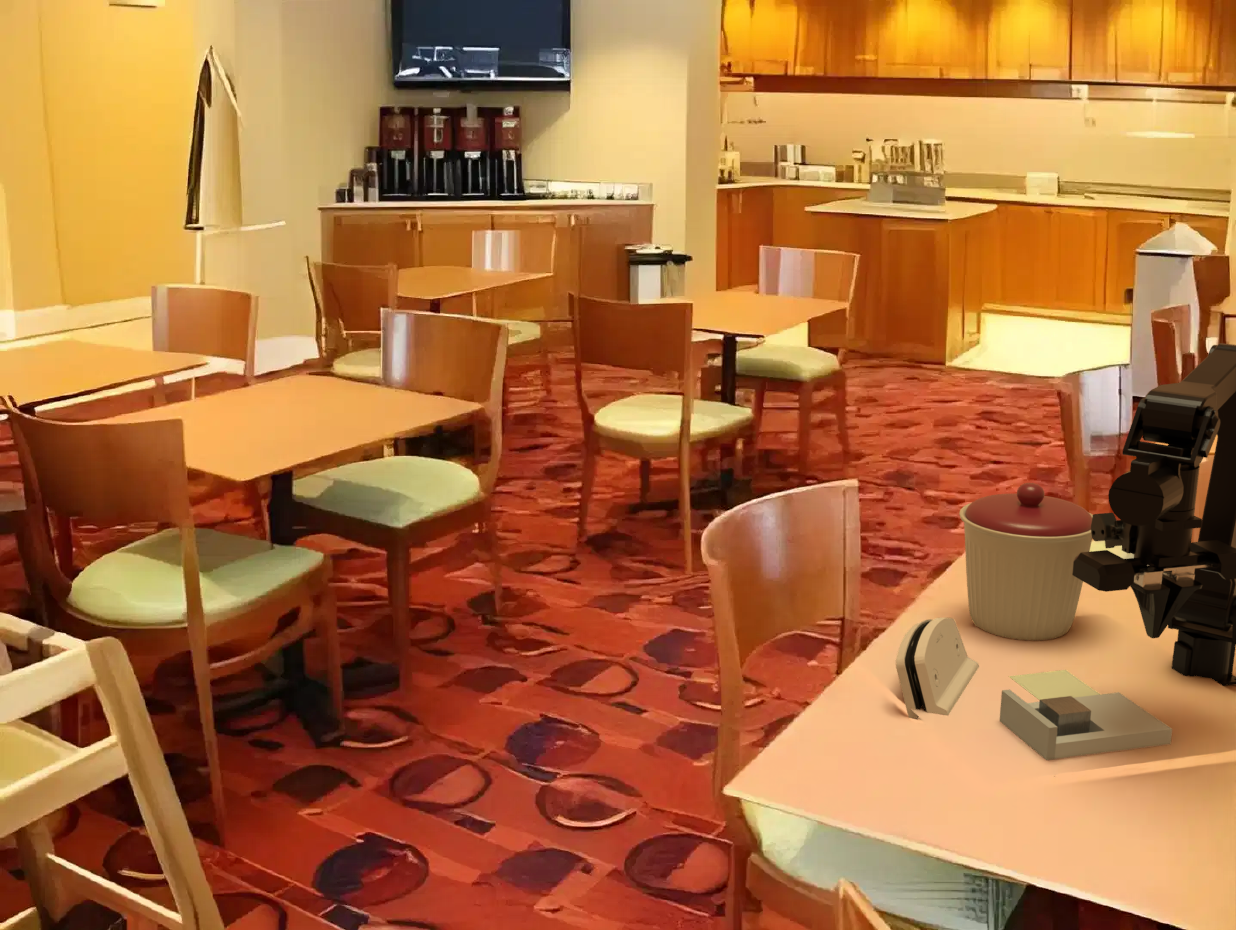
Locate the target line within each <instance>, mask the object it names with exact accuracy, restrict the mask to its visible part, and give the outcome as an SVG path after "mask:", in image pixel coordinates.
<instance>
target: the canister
mask: <svg viewBox="0 0 1236 930" xmlns="http://www.w3.org/2000/svg"><path fill="white" fill-rule="evenodd" d="M958 513H959V514H958V515H959V517H960V519H961V521H962V522H963V524H964V526H963V527H964V529H963V530H964V546H965V547H964V548H965V569H966V570H965V571H966V572H965V573H966V587H967V588H966V589H967V601H968V602H967V603H968V609H969V610H968V611H969V616H970V618H971V620H972V622H973V624H974V627H976V628H977V627H978V628H979V629H980V630H983V631H984V632H987V633H989V634H992V635H995V636H996V637H997V636H998V637H1000V638H1001V637H1002V638H1005V639H1011V640H1012V639H1013V640H1018V641H1021V640H1022V641H1033V642H1035V641H1048V640H1054V639H1057V638H1061V637H1062V636H1064V635H1065V634H1067V633H1068V632H1069V630H1071V627H1072V625H1073V623H1074V621H1075V617H1076V612H1077V609H1078V605H1079V601H1080V596H1081V594H1082V593H1081V591H1082V587H1083V583H1084V582H1083V581H1082V580H1080V579H1078V578H1076V577H1075V576H1073V575H1072V573H1073V562H1074V559H1075V557H1077V556H1078V555H1079V554H1080V553H1081V552H1091V546H1092V541H1093V538H1092V534H1091V523H1092V517H1093V513H1090V512H1088V511H1087V510H1086V508H1084V507H1083V506H1081V505H1078V504H1076V503H1074V502H1072V501H1069V500H1065V499H1062V498H1059V497H1053V496H1047V495H1045V490H1044V488H1043V487H1042V486H1041V485H1040V484H1039V483H1034V482H1025V483H1024V482H1023V483H1022V484H1021V485H1019V486H1018V488H1017V491H1016V493H1001V494H1000V493H999V494H997V493H996V494H991V495H987V496H983V497H980V498H978V499H975V500H974V501H972V502H970V503H967V504H965V505H963V507H962V508H960V510H959V512H958Z"/></svg>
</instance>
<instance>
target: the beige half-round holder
mask: <svg viewBox="0 0 1236 930" xmlns="http://www.w3.org/2000/svg"><path fill="white" fill-rule="evenodd" d="M903 636H904V637H903V638H902V640H901V642H900V644H899V647H898V651H897V653H896V658H895V669H896V673H897V676H898V680H899V684H900V688H901V692H902V696H903V701H904V704H905V705H904V706H905V709H906V713H907V716H908V719H918V718H919V714H917V713H916V712H915V711H916V710H918V711H920V710H921V709H922V708H923V711H924V712H926V713H929V714H935V715H943V716H949V715H950V713H951V712H952V710H953V708H954V707H955V705H956V704H957V702H958V701H959V699H960V698H961V696H962V694H963V693H964V691H965V690H966V688H967V687H968V685H969V684H970V682H971V681H972V679H973V677H974V676H975V674H976V673H977V671H978V669H979V668H980V664H979V662H978V661H976V660H974V659H973V658H970V657H969V656H968V654H967V650H966V648H965V645H964V641H963V639H962V637H961V634H960V630H959V628H958V626H957V622H956V620H955V618H953V617H936V618H934V619H931V618H930V619H925V620H923V621H919V622H918V623H916V624H913V625H912V626H911V627H910V628H909V629H908V630H907V631H906V633H905V634H904V635H903Z"/></svg>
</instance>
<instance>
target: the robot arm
mask: <svg viewBox="0 0 1236 930" xmlns="http://www.w3.org/2000/svg"><path fill="white" fill-rule="evenodd" d="M1216 437H1217V439H1216ZM1141 439H1142V440H1143V441H1141ZM1215 440H1216V444H1215V448H1214V449H1215V450H1214V454H1213V460H1212V465H1211V466H1212V467H1211V470H1210V475H1209V481H1208V487H1207V492H1206V497H1205V501H1204V502H1205V503H1204V507H1203V512H1202V517H1201V518H1200V517H1198V516H1195V511H1196V503H1197V493H1198V487H1199V486H1198V485H1199V475H1200V465H1201V463H1202V461H1203V459H1204V458H1205V459H1207V458H1208V457H1209V454H1210V451H1211V449H1212V447H1213V445H1214V441H1215ZM1122 455H1125V456H1130V457H1135V459H1133V460H1131V462H1130V468H1129V470H1128V471H1127V472H1124V473H1122V474H1121V475H1119V476H1118V477H1116V479H1115V480H1114V481H1113V482H1112V485H1111V486H1110V487H1109V489H1108V503H1109V507H1110V509H1111V511H1112V512H1103V513H1092V515H1093V517H1092V523H1091V534H1092V541H1094V542H1104V546H1105V549H1104V550H1103V549H1102V550H1095V551H1092V550H1090V551H1089V552H1081V553H1080V554H1079V555H1078V556H1077V557H1075V559H1074V562H1073V573H1072V575H1073V576H1075V577H1076V578H1078V579H1080V580H1082V581H1083V583H1085V584H1086V585H1089V586H1090V587H1092V588H1094V589H1096V590H1097V591H1099V592H1107V593H1108V592H1114V591H1126V590H1128V589H1129V588H1130V589H1132V591H1133V595H1134V596H1135V599H1136V601H1137V604H1138V605H1137V606H1138V608H1139V610H1140V611H1139V612H1140V615H1141V618H1142V623H1143V625H1144V629H1145V632H1146V636H1148V637H1149V638H1151V639H1159V638H1160V636H1161V635H1162V634H1163V632H1164V631H1165V629H1166V628H1167V629H1170V630H1177V631H1178V632H1177V640H1175V642H1174V645H1173V653H1172V661H1171V662H1172V663H1171V669H1172V670H1174V671H1175V672H1177V673H1178V674H1181V675H1182V676H1183V677H1190V678H1191V677H1198V678H1204V679H1210V680H1212V681H1214V682H1216V683H1218V684H1219V685H1220V686H1222V687H1225V686H1234V685H1236V676H1235V675H1233V670H1234V664H1235V655H1236V344H1233V343H1230V344H1229V343H1221V342H1220V343H1218V344H1213V345H1211V347H1210V349H1209V351H1208V354H1207V356H1206V357H1205V358H1204V359H1203V360H1202V361H1201V362H1200V363H1199V364H1198V365H1197V366H1196V367H1195V368H1194V369H1193V370H1192V371H1191V372H1190V373H1188V375H1186V376H1185V377H1184V379H1182V380H1181V381H1180V382H1177V383H1175V382H1174V383H1167V384H1165V383H1164V384H1161V385H1158V386H1156V387H1154V388H1152V389H1151V390H1149V391H1148V392H1147V393H1146V395H1145V396H1144V397H1143V398H1141V399H1140V401H1139V402H1138V405H1137V407H1136V410H1135V413H1134V417H1133V420H1132V422H1131V424H1130V428H1129V431H1128V433H1127V436H1126V440H1125V442H1124V446H1123V449H1122ZM1116 517H1117V518H1116ZM1193 529H1199V533H1198V539H1197V541H1193V542H1192V537H1193ZM1115 547H1121V551H1122V552H1124V553H1126V554H1132V555H1133V557H1130V558H1123V557H1121V556H1119V555H1117V554H1115V553H1114V552H1112V551H1110V550H1109V549H1113V548H1115ZM1107 549H1108V550H1107Z"/></svg>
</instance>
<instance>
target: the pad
mask: <svg viewBox="0 0 1236 930" xmlns="http://www.w3.org/2000/svg"><path fill="white" fill-rule="evenodd" d="M1008 677H1009V678H1010V679H1011V680H1013V681H1014V682H1015V683H1016V684H1018V685H1019V686H1020V687H1022V688H1023V689H1024V690H1026V691H1027V692H1028V693H1030V694H1031V695H1032V697H1034V698H1036V699H1037V700H1039V701H1040V700H1041V699H1049V698H1058V697H1066V696H1072V697H1073V698H1075V697H1083V696H1091V695H1100V694H1101V693H1100V692H1098V691H1097V690H1096V689H1094V688H1092V687H1091V686H1090V685H1088V684H1087V683H1086V682H1084V681H1082V680H1081V679H1079V677H1077V676H1076V675H1074V674H1073V673H1071V672H1069V670H1067V669H1061V670H1053V671H1043V672H1034V673H1026V674H1018V675H1017V674H1016V675H1009V676H1008Z"/></svg>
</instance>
